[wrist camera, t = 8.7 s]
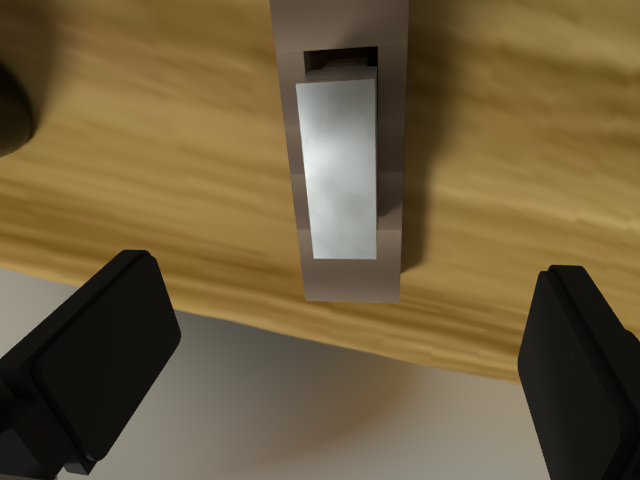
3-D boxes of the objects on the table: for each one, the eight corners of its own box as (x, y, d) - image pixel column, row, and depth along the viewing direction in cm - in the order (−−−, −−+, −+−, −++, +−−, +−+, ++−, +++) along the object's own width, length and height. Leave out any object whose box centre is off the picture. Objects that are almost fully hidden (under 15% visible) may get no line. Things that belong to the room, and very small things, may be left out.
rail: (276, -81, 18) (258, -94, 16) (408, -98, 17) (412, -114, 15) (312, 273, 28) (305, 300, 26) (398, 275, 28) (399, 303, 25)
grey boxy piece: (321, 60, 21) (295, 83, 15) (378, 56, 21) (374, 78, 15) (330, 197, 25) (313, 258, 19) (378, 197, 25) (376, 259, 19)
